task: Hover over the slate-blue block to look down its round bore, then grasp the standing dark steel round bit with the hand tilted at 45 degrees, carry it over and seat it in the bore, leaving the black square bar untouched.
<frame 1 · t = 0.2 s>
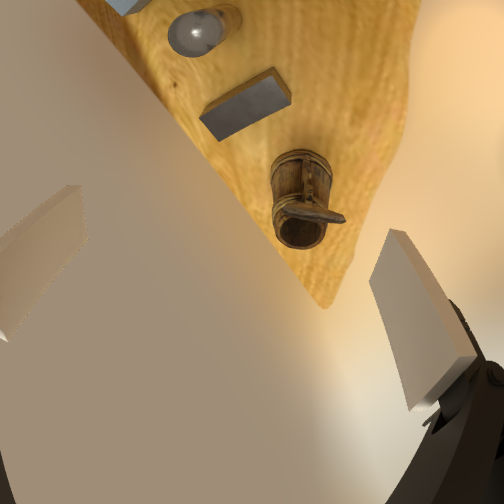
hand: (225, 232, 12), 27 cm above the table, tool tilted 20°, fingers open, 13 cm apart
wooden mug: (304, 162, 40), on the table
square bar: (248, 98, 34), on the table
round bit: (224, 19, 26), on the table
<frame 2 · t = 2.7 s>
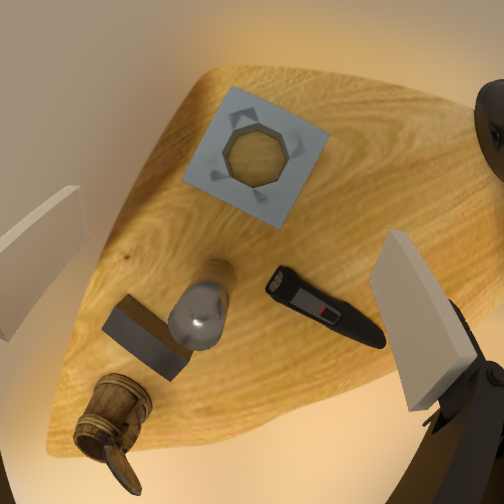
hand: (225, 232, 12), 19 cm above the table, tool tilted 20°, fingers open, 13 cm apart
bore block: (256, 158, 30), on the table
wooden mug: (135, 395, 37), on the table
square bar: (154, 330, 34), on the table
round bit: (217, 277, 33), on the table
electric trimmer: (327, 305, 33), on the table
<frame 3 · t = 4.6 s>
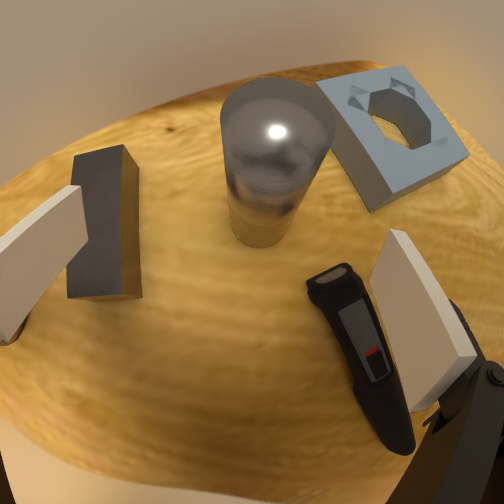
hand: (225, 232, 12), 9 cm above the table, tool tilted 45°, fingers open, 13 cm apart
bore block: (382, 141, 23), on the table
square bar: (115, 233, 21), on the table
round bit: (259, 220, 21), on the table
electric trimmer: (365, 361, 20), on the table
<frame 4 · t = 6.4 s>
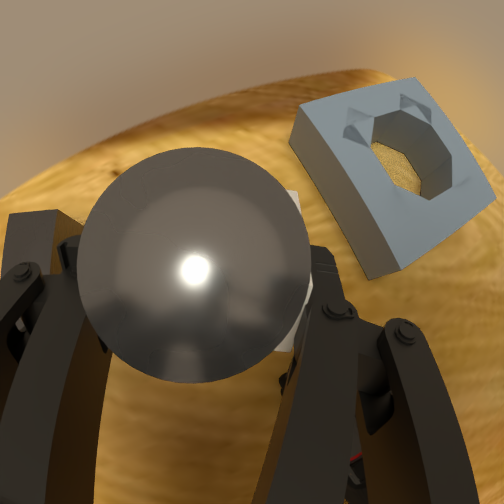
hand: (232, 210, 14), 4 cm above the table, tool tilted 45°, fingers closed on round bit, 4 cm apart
bore block: (387, 179, 18), on the table
square bar: (59, 306, 16), on the table
round bit: (223, 298, 16), on the table, touching gripper
electric trimmer: (351, 452, 15), on the table
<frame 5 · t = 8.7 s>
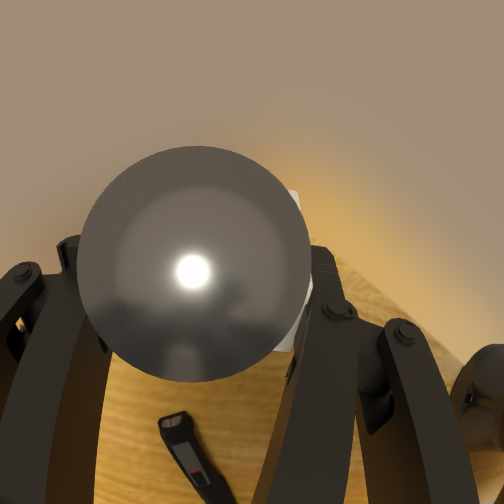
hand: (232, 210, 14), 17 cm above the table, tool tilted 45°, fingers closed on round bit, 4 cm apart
round bit: (223, 298, 16), point 13 cm above the table, touching gripper
electric trimmer: (205, 468, 26), on the table
when the fingers open (7 cm above the table, at t = 11.0 s): round bit drops 3 cm, resting in bore block.
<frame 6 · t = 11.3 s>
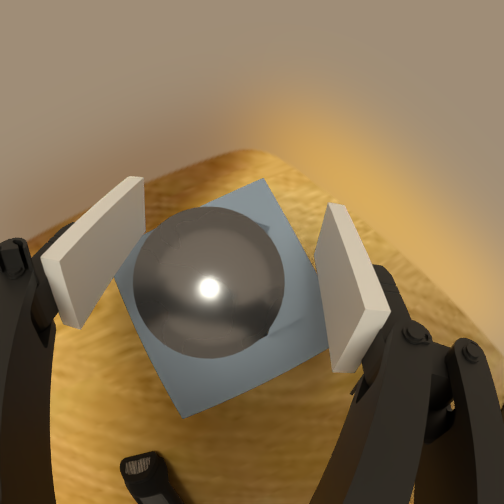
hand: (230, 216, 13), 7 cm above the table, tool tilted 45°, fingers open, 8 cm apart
bore block: (225, 301, 19), on the table
round bit: (226, 301, 19), resting in bore block
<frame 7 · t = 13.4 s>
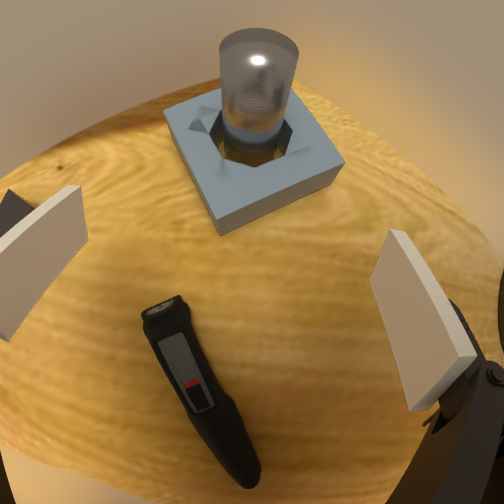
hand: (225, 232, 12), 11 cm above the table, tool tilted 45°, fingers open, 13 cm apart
bore block: (248, 158, 24), on the table
square bar: (19, 258, 22), on the table
round bit: (249, 158, 24), resting in bore block
electric trimmer: (206, 390, 21), on the table
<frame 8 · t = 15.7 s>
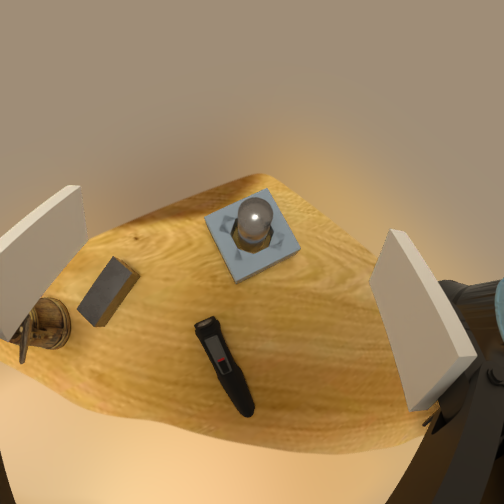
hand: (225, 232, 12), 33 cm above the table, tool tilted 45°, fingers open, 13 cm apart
bore block: (251, 239, 46), on the table
wooden mug: (60, 328, 41), on the table
square bar: (113, 293, 43), on the table
round bit: (251, 239, 46), resting in bore block
electric trimmer: (227, 364, 42), on the table
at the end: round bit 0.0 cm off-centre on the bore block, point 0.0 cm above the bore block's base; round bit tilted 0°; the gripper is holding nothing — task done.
